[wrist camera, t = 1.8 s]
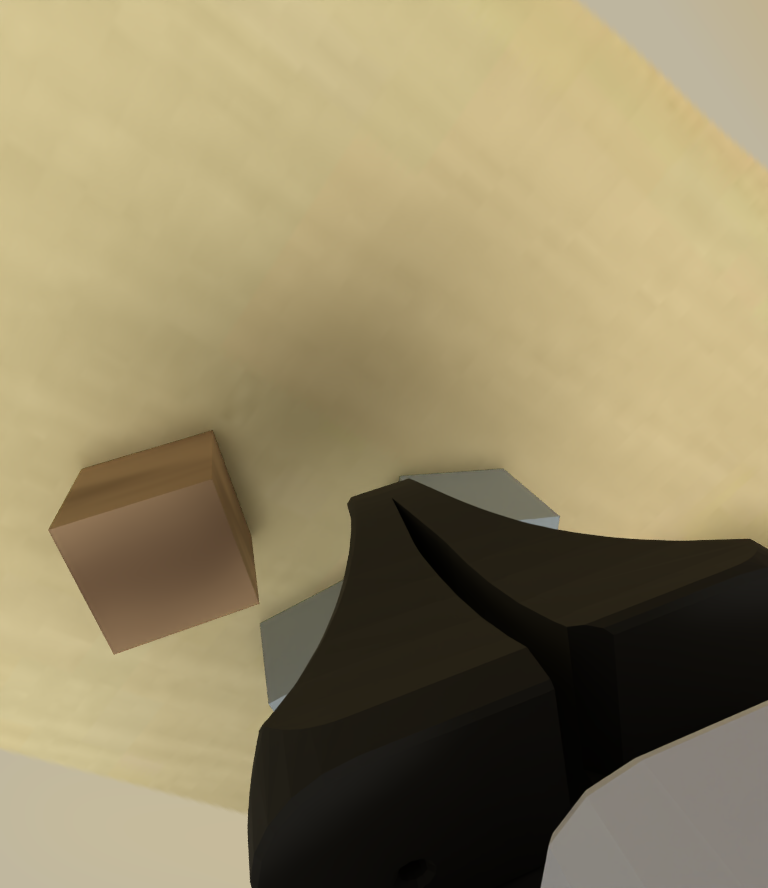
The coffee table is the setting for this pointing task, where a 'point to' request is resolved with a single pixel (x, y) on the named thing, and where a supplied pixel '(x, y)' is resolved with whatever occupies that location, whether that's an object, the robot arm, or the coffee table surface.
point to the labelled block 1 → (294, 641)
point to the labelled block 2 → (492, 494)
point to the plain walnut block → (157, 542)
